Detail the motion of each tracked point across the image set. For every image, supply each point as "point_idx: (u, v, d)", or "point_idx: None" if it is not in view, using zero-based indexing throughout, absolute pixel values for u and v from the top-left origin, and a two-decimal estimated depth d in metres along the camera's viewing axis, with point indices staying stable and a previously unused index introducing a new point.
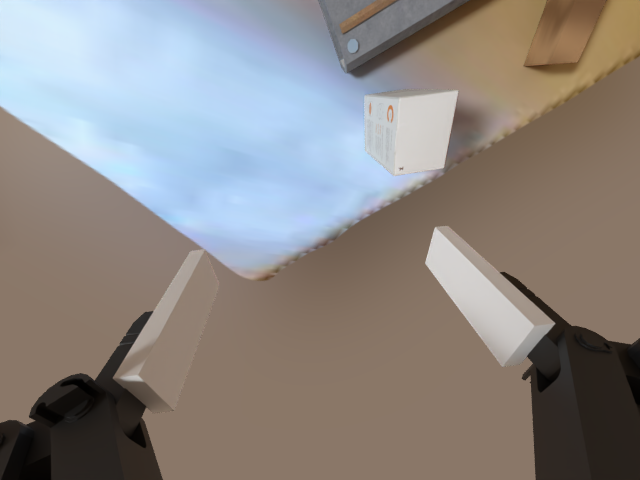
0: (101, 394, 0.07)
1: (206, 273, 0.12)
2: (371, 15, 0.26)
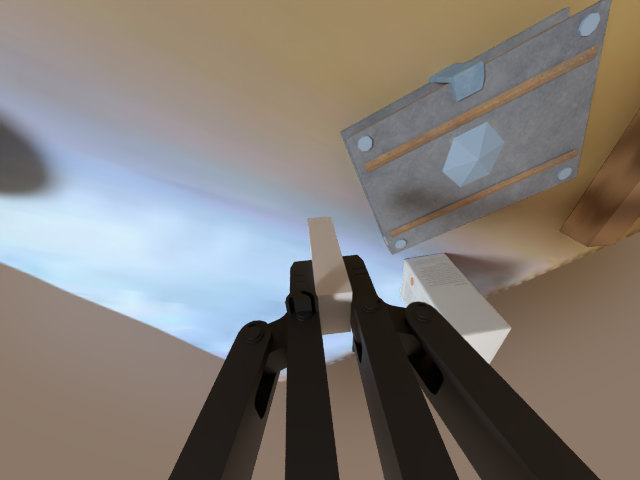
0: (316, 312, 0.09)
1: None
2: (421, 224, 0.26)
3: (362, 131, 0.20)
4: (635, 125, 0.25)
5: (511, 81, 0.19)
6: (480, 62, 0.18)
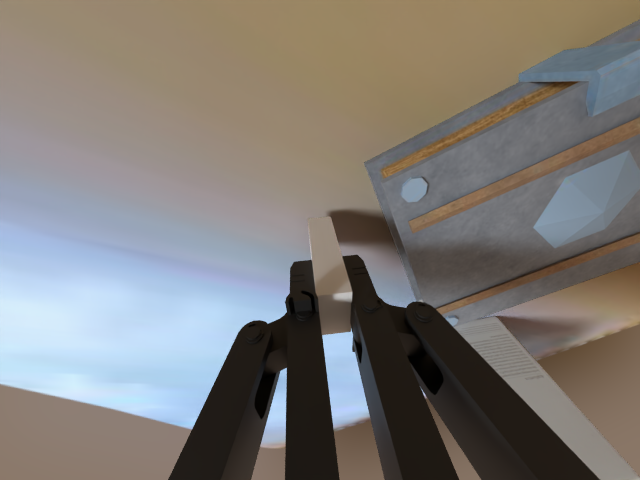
0: (316, 312, 0.09)
1: None
2: (484, 298, 0.17)
3: (411, 169, 0.11)
4: None
5: None
6: None
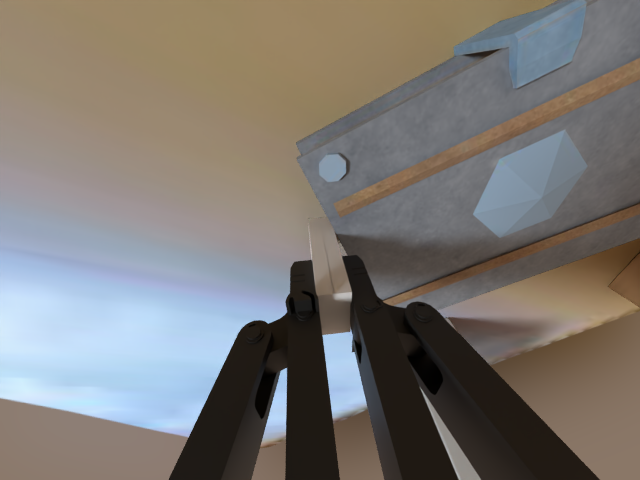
0: (317, 312, 0.09)
1: None
2: (431, 290, 0.16)
3: (326, 144, 0.10)
4: None
5: (628, 48, 0.09)
6: (578, 0, 0.08)
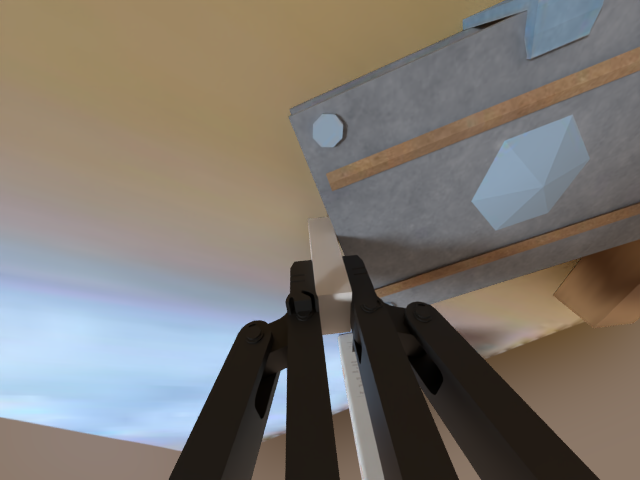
0: (317, 312, 0.09)
1: None
2: (422, 283, 0.16)
3: (323, 103, 0.09)
4: None
5: None
6: None
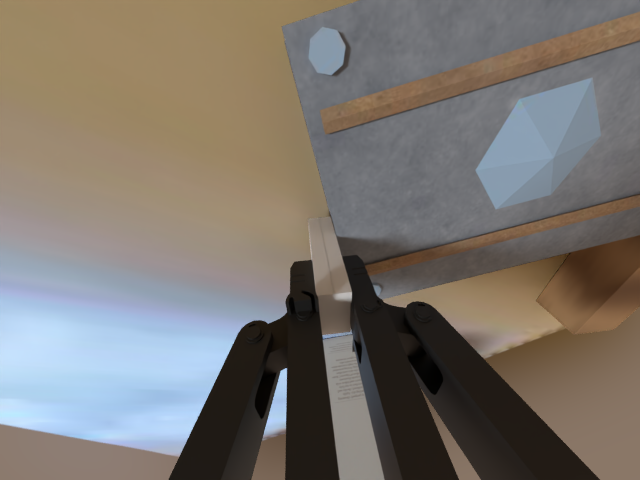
0: (317, 312, 0.09)
1: None
2: (413, 264, 0.14)
3: (324, 14, 0.08)
4: None
5: None
6: None
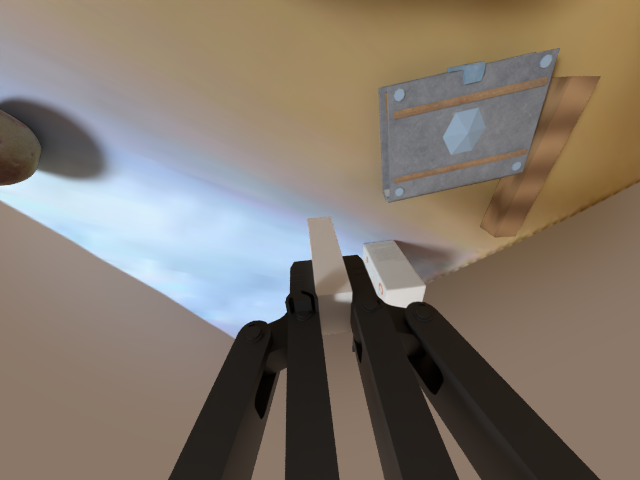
0: (316, 312, 0.09)
1: None
2: (418, 178, 0.34)
3: (400, 85, 0.28)
4: None
5: (498, 82, 0.29)
6: (483, 61, 0.27)
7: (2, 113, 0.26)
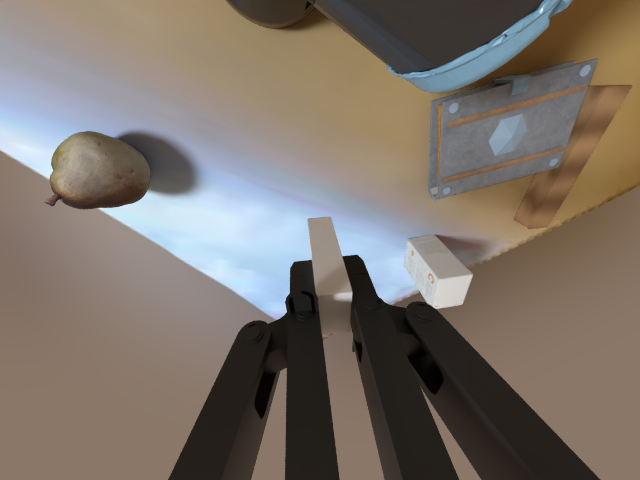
0: (316, 312, 0.09)
1: None
2: (464, 177, 0.39)
3: (454, 99, 0.32)
4: None
5: (540, 91, 0.33)
6: (529, 75, 0.31)
7: (129, 146, 0.32)
